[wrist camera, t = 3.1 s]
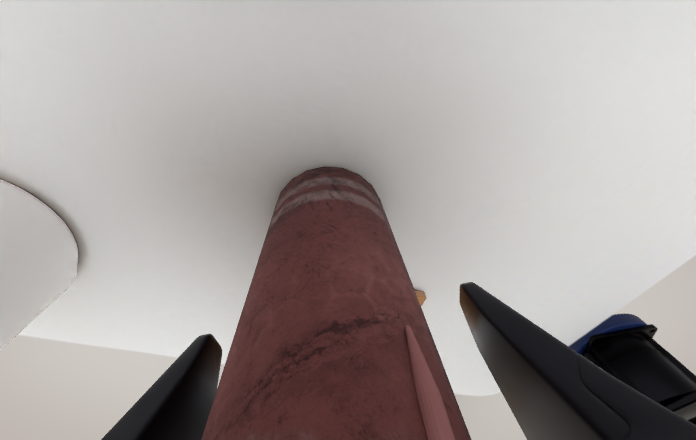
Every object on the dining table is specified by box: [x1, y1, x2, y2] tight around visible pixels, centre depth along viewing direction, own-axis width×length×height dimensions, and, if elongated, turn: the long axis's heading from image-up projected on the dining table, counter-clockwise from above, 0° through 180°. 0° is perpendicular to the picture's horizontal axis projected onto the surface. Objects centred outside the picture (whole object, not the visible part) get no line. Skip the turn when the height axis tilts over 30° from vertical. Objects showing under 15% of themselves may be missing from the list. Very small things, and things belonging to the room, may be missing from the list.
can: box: [201, 167, 471, 440], centre depth 10 cm, size 6×6×14 cm
